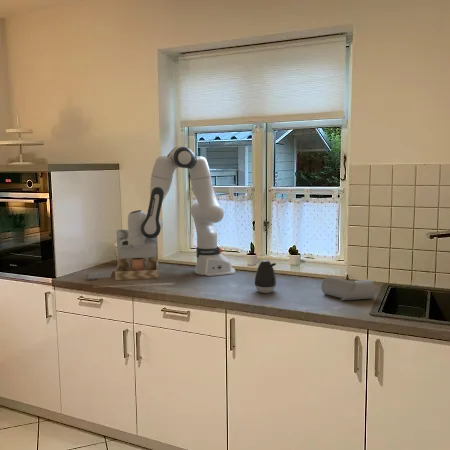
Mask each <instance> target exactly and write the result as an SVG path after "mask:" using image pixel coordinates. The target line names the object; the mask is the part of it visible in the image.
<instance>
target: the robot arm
mask: <svg viewBox="0 0 450 450" xmlns="http://www.w3.org/2000/svg"><path fill="white" fill-rule="evenodd" d="M208 163H209V162H208V161H207V158H206V157H203V156H202V155H201V156H199V155H198V156H197V155H196V154H195V153H194V151H192V150H191V148H189V147H186V146H183V145H181V146H176V147H174V148H172V150H170V152H169V153H168V154H167V156H166V155H162V156H161V155H160V156H158V157H157V158H156V160H155V161H154V165H153V167H152V172H151V176H150V187H149V189H150V195H149V196H150V197H149V204H148V209H147V213H146V212H145V211H143V210H142V209H141V210H140V209H139V210H134V211H131V212H129V214H128V216H127V230H129V234H128V238H126V239H123V240H121V241H120V247H119V250H118V253H117V259H118V258H119V259H127V262H128V263H129V267H132V263H130V261H129V260H130V258H146V262H144V266H147V261H148V258H152V257H156V247H157V243H156V242H155V241H154V240H145V237H147V238H155V237H157V238H158V236H160V232H161V231H162V228H163V221H162V219H161V218H160V215H161V210H162V205H163V202H164V200H165V199H166V196H167V194H168V193H169V191H170V189H171V186H172V182H173V177H174V176H173V175H174V172H175V170H176V169H177V168H182V169H187V170H188V173H189V177H190V183H191V189H192V193H193V195H194V196H195V198H196V200H197V201H196V202H194V203H193V204H192V205H191V206H190V215H191V217H192V219H193V221H194V226H195V232H196V248H195V252H196V253H195V256H196V264H195V268H194V273H195V274H196V275H201V276H202V275H203V276H206V277H211V276H212V277H214V276H222V275H233V274H235V273H236V269H235V268H234V267H232V264H231V261H230V259H229V258H227V257H226V256H225V255H223V254H222V253H223V249H222V248H221V247H219V246H218V233H217V230H216V228H215V225H214V224H216V223H217V224H218V223H220V222H221V221H222V220H223V218H224V214H225V212H224V208H223V207H222V206H221V204H220V203H219V200H218V198H217V196H216V193H215V191H214V186H213V180H212V174H211V170H210V166H209V164H208Z"/></svg>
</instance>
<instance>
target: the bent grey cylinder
mask: <svg viewBox="0 0 450 450" xmlns="http://www.w3.org/2000/svg"><path fill="white" fill-rule="evenodd" d="M321 292H322V293H323V294H324V295H327V296H331V297H335V298H339V299H340V301H341V302H342V301H353V300H354V301H357V300H372V299H374V297H375V296H376V295H375V294H376V287H375V283H374V282H373V280H372V279H360V280H355V281H351V280H347V279H343V278H338V277H334V276H330V275H329V276H325V277H324V278H323V280H322V282H321Z"/></svg>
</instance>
